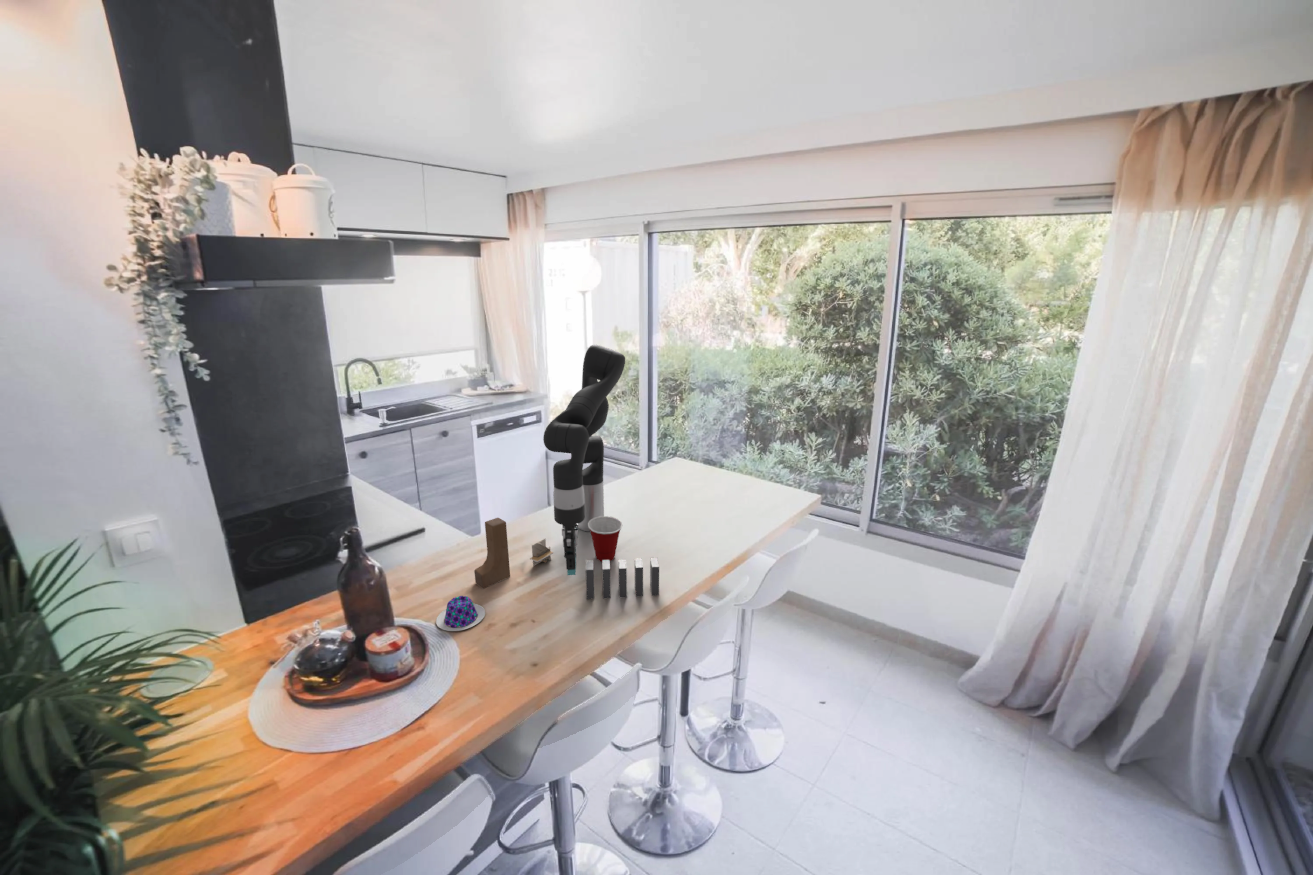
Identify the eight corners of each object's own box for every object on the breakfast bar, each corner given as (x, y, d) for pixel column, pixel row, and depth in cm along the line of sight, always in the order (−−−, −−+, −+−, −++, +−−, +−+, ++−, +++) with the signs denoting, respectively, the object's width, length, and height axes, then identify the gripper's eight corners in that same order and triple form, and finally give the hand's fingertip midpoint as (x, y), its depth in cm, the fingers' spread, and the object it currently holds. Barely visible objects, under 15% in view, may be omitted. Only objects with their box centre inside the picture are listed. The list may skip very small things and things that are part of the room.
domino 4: (619, 597, 148) (619, 568, 145) (618, 587, 153) (618, 559, 150) (626, 597, 148) (626, 568, 146) (625, 587, 153) (625, 559, 150)
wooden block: (482, 589, 151) (477, 531, 146) (475, 583, 154) (469, 526, 149) (510, 577, 158) (506, 521, 152) (502, 571, 161) (498, 516, 155)
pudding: (487, 627, 135) (485, 609, 134) (436, 638, 131) (434, 619, 130) (483, 601, 146) (481, 584, 145) (436, 611, 142) (434, 593, 140)
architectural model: (554, 562, 167) (553, 541, 165) (538, 572, 161) (536, 549, 159) (546, 559, 169) (545, 538, 167) (530, 568, 163) (528, 546, 161)
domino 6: (651, 595, 149) (652, 566, 146) (650, 585, 154) (650, 557, 151) (658, 595, 149) (659, 566, 147) (657, 585, 154) (657, 557, 151)
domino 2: (586, 599, 147) (585, 569, 145) (587, 589, 152) (586, 560, 149) (594, 598, 147) (593, 569, 145) (594, 588, 152) (593, 560, 150)
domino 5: (635, 596, 149) (635, 567, 146) (634, 586, 153) (634, 558, 151) (643, 596, 149) (643, 567, 146) (641, 586, 154) (641, 558, 151)
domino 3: (603, 598, 148) (602, 569, 145) (603, 588, 152) (602, 560, 150) (610, 597, 148) (609, 568, 145) (610, 587, 153) (609, 559, 150)
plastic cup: (603, 570, 162) (603, 534, 158) (581, 557, 169) (580, 523, 166) (630, 557, 169) (629, 523, 166) (607, 546, 176) (607, 512, 173)
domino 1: (567, 575, 135) (565, 543, 132) (568, 564, 139) (567, 533, 137) (575, 574, 135) (574, 542, 132) (576, 564, 140) (574, 533, 137)
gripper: (583, 513, 125) (585, 577, 130) (585, 490, 139) (587, 549, 144) (551, 515, 124) (554, 579, 129) (555, 491, 138) (558, 550, 143)
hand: (571, 563), depth 137 cm, fingers closed on domino 1, 5 cm apart
